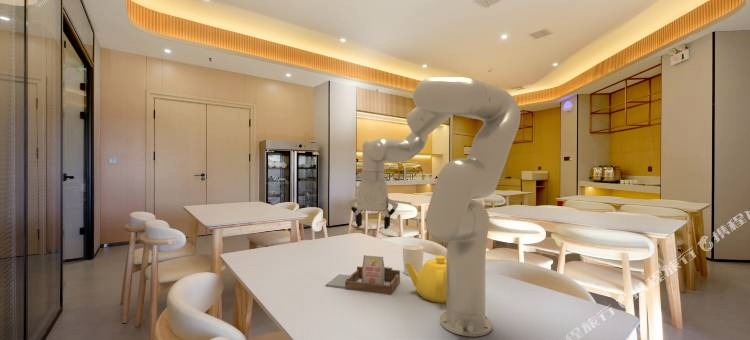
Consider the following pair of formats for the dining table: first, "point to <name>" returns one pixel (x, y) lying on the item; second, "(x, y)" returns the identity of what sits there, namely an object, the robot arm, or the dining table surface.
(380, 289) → the brown wooden tray
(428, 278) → the teapot
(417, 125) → the robot arm
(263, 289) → the dining table surface
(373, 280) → the tea bag
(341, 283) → the rubber pad
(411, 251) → the white cup
